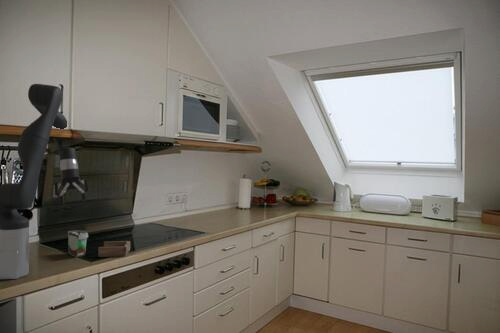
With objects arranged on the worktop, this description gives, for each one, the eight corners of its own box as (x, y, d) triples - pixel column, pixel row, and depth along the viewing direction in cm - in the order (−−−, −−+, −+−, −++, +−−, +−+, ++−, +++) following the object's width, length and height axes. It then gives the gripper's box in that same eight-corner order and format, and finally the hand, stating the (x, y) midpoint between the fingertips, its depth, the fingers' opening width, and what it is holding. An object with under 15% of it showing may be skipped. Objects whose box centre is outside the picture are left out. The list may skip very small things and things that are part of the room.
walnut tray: (126, 256, 153) (126, 247, 153) (98, 257, 151) (98, 247, 151) (130, 249, 166) (130, 240, 166) (104, 250, 163) (104, 241, 163)
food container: (93, 255, 154) (93, 233, 154) (78, 258, 149) (79, 234, 149) (81, 250, 162) (81, 229, 162) (67, 253, 157) (67, 231, 157)
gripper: (51, 170, 160) (55, 204, 159) (85, 166, 166) (89, 200, 165) (53, 172, 167) (57, 205, 166) (86, 168, 173) (90, 200, 171)
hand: (73, 202), depth 165 cm, fingers open, 8 cm apart
